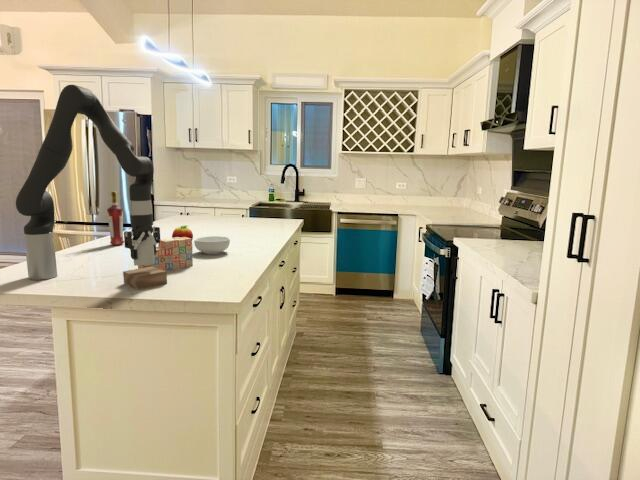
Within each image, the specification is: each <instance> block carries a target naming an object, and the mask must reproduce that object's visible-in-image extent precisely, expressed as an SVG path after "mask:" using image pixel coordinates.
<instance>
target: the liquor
mask: <svg viewBox="0 0 640 480" xmlns="http://www.w3.org/2000/svg"><path fill="white" fill-rule="evenodd" d="M117 194H118V193H117V191H110V196H111V197H110V198H111V206H110V207H108V208H107V209H106V213H107V219H108V228H109V235H110V242H109V243H110V244H111V245H112V246H115V245H117V246H122V245H123V244H125V242H124V227H123V226H124V215H123V208H122V207H120V206H118V205H119V204H118V198H117V196H118V195H117Z"/></svg>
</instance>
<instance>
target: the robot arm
mask: <svg viewBox="0 0 640 480" xmlns="http://www.w3.org/2000/svg"><path fill="white" fill-rule="evenodd" d="M78 114H79V115H84V116H85V117H87V118H88V119H89V120H90V121H91V122H92V123H93V124H94V125H95V126H96V128H97V129H98V132H99V135H100V138H101V139H102V141H103V143H104V144H105V145H106V147H107V148H108V149H109V150H110V151H111V152H112V153H113V154H114V156H115V157H116V159H117V162H118V163H119V165H120V168H121V169H122V170H123V172H124V173H126V174H127V175H128V176H130V177H135V180H134V182H133V183H132V184H130V186H129V191H128V192H129V216H130V217H129V218H130V226H131V230H130V231H123V241H124V248H125V249H129V250H130V258H131V259H132V260H133V261H134V260H137V259H138V255H137V246H138V244H140V242H141V241H144V240H146V239H147V237H153V244H154V255H156V247H157V245H158V243H160V239H161V229H160V227H159V226H153V225H154V213H153V203H152V193H151V192H152V191H151V188H152V184H153V180H154V179H153V177H154V163H153V161H152V160H151V158H149V157H148V156H143V155H142V156H140V155H139V156H138V155H135V154H134V150H135V148H134V145H133V144H132V142H131V141H130V140H129V139H128V137H127V136H126V135H125V133H123V131H122V130H121V129H120V128H119V127H118V126H117V125H116V124H115V122H114V121H113V119H112V118H111V117H110V114H108V112H107V110H106V109H105V107H104V106H103V104H102V103H101V101H100V99H99V98H98V96H97V95H96V94H95V93H94V92H93V91H92V90H91V89H88V88H86V87H83V86H81V85H80V86H79V85H76V84H67V85H65V86H64V87H63V88H62V90H61V91H60V93H59V96H58V99H57V103H56V106H55V110H54V114H53V117H52V119H51V122H50V125H49V127H48V129H47V132H46V134H45V135H46V136H45V137H44V140H43V142H42V143H41V147H40V148H39V151H38V152H37V153H38V154H37V157H36V158H35V161H34V163H33V165H32V167H31V169H30V172H29V175H28V176H27V178H26V179H25V182H24V183H23V185H22V187H21V189H20V190H19V192H18V194H17V196H16V199H15V208H16V210H17V212H18V213H19V214H20V215H22V216H24V217H30V219H29V221H28V222H27V223H26V224H24V226H23V234H24V235H23V236H24V242H25V251H26V253H25V257H26V259H25V260H26V266H27V267H26V268H27V276H28V279H29V280H33V281H34V280H35V281H37V280H38V281H39V280H48V279H52V278H55V277H58V270H57V269H58V267H57V258H56V247H55V239H54V226H55V223H56V222H55V220H56V219H55V203H54V199H53V196H52V195H51V194H50V192H49V191H47V188H48V187H49V185H50V184H51V182H52V181H53V180H54V179H55V178H57V176H58V175H60V173H61V172H63V170H64V169H65V167H66V166H67V164H68V162H69V160H70V157H71V155H72V151H73V146H74V144H73V138H72V127H73V123H74V121H75V120H76V117H77V116H78ZM135 240H137V241H135Z"/></svg>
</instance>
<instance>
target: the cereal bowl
mask: <svg viewBox="0 0 640 480" xmlns="http://www.w3.org/2000/svg"><path fill="white" fill-rule="evenodd" d="M193 240H194V242H193V243H194V246H195V248H196V249H197V250H198V251H200V252H202V253H203V254H205V255H217V254H221V252H224V251H225V250H227V249H228V248H229V246H230V242H231V241H230V240H231V239H230V238H229V237H227V236H216V235H215V236H202V237H198V238H194V239H193Z"/></svg>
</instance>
